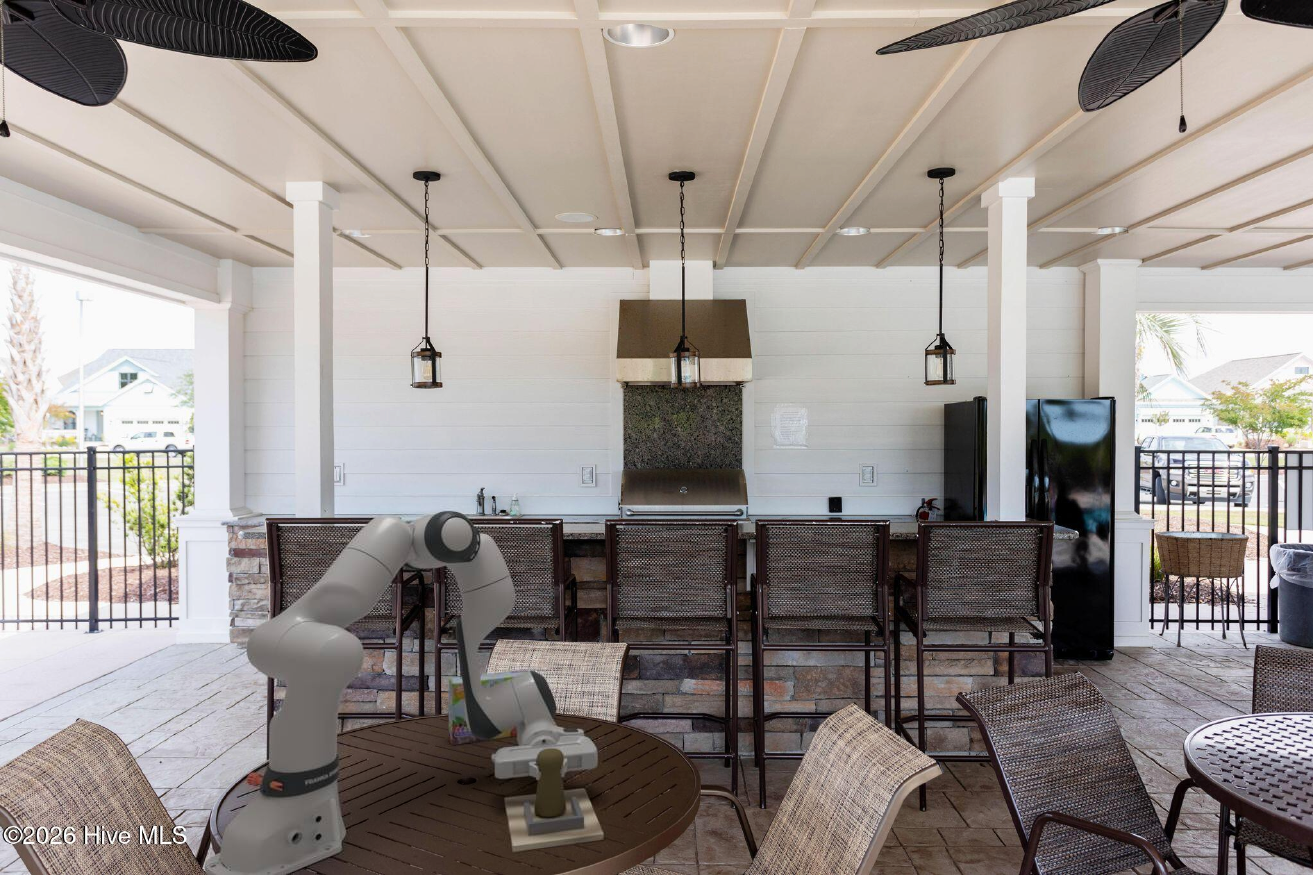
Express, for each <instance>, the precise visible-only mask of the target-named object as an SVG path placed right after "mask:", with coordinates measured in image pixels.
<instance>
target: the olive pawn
mask: <svg viewBox="0 0 1313 875" xmlns="http://www.w3.org/2000/svg"><path fill="white" fill-rule="evenodd" d="M563 763H564V756H563V753H562V752H561V751H560V750H558V749H555V748H548V749H544V750H542V751H540V752H539V754H538V755H537V766H538V768H539V769H540V771H541V777H540V780H537V785H536V786H537V787H536V793H535V794H536V801H535V809H534V811H535V813H536V814H538V815H541V816H555V815H559V814H561V813H563V812H564V811H565V810H566V803H565V795H564V791H565V788H564V782H563V780H564V779H563V777H561V767H562V766H563Z"/></svg>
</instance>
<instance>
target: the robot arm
mask: <svg viewBox="0 0 1313 875" xmlns="http://www.w3.org/2000/svg"><path fill="white" fill-rule="evenodd" d="M403 566H404V567H406V568H408V569H412V570H415V571H425V570H428V569H438V568H442V567H445V566H446V568H448V569H449V570H450V571H451V573H453V576H454V578H456V583H457V585H458V589H459V592H460V595H461V599H462V610H461V611H462V613H461V616H460V617H459V618H458V619H457V620H456V622H455V639H456V646H457V654H458V663H459V668H460V675H461V677H462V682H463V688H464V695H465V719H466V723H467V726H468V729H469V731H470V732H471V733H472V735H473V736H475V737H477V738H480V739H484V741H490V739H491V740H493V739H492V738H494V737H496V736H498V735H500V734H502V733H503V732H504V731H506V730H509V729H511V728H513V727H516V726H517V736H516V739H517V744H518V745H515V746H507V747H506V746H504V747H501V748H499V749H498V750H496V752H495V753H492V754H491V756H490V758H491V762H492V763H494V777H495V778H497V779H500V780H503V779H512V778H521V777H533V778H535V780H536V781H538V780H540V777H541V771H540V769H539V768H538V766H537V755H538V754H539V752H540V751H542V750H544V749H548V748H555V749H558V750H560V751H561V752H562V753H563V756H564V763H563V766H562V767H561V777H562V778H565V774H566V773H567V772H575V771H583V770H585V771H586V770H594V769H595V768H597V767H598V761H599V760H598V759H599V758H598V757H599V756H598V748H597V746H596V745H595V743H594V741H592V740H591V739H590V738H589V737H588V736H585V732H584V730H583V729H582V728H567V727H561V726H558V725H557V723H556V722H555V720H554V719H555V717H556V716H557V715H556V714H557V710H558V709H557V703H556V700H555V698H554V694H553V692H552V690H551V687H550V685H549V683H548V682H547V680H546V678H545V677H544V676H543V675H542V674H541V673H538V672H536V671H535V670H534V671H535V672H534V671H528V672H526V673H523V674H521V675H518V676H516V677H513V678H511V679H509V680H507V681H505V682H502V683H500V684H497V685H495V686H493V687H490V688H483V686H482V683H481V676H480V675H481V671H480V670H481V669H480V666H479V665H480V663H479V657H478V650H479V646H480V645H481V644H482V641H484V639H485V638H486V637H487V636H488V635H490V633H491V632H492V631H493V630H495V629H496V628H497V627H498V626H499V625H500V624H501V623H502V622H503V621H504V620H505V619H506V618H507V617H508V616H509V615H510V613H511V612H512V610H513V608H514V606H515V602H516V592H515V588H514V584H513V580H512V576H511V574H510V571H509V568H508V565H507V564H506V561H505V559H504V557H503V554H502V552H501V551H500V549H499V547H498V545H497V543H496V542H495V540H494V539H493V538H492V536H490V535H488V534H486V533H480V531H478V529H477V528H476V526H475V525H474V523H473V522H472V520H470V519H469V517H467V516H466V515H465V514H464V513H462V512H459V511H455V510H454V511H453V510H443V511H439V512H437V513H433V514H430V515H429V514H428V515H425V516H422V517H420V518H418V519H416V520H413V521H411V522H408V523H407V522H406V521H404V519H402V518H400V517H398V516H396V515H391V514H381V515H377V516H375V517H374V518H373V519H371V520H370V521H369V522H368V523H367V524H366V525H365V526H363V528H361V529H360V530H359V531H358V532H357V534H356V535H355V536H354V537H353V538H352V539H351V540H350V541H349V542H348V543H347V545H346V546H345V547H344V549H343V550H342V551H341V553H340V554H339V555H338V556H337V558H336V559H335V560H334V562H332V564H331V565H330V567H329V568H328V569H327V570H326V572H324V574H323V575H322V576H321V578H320V579H319V580H318V581H317V582H316V583H315V584H314V585H313V586H312V587H311V588H310V589H308V591H306V592H305V594H303V595H302V596H300V597H299V598H298V599H297V600H296V601H295V602H293V603H292V604H291V605H290V606H289V607H287V609H285V610H284V611H282V612H281V613H280V614H278V615H276V616H275V617H272V618H271V619H269V620H266V621H264V622H261V624H259V625H258V626H257V627H256V628H255V629H254V630H253V631H252V633H251V634H250V636H249V638H248V641H247V644H246V656H247V660H248V661H249V663H250V664H251V666H253V667H254V668H255V669H256V670H257V671H259V672H261V673H262V674H263V675H265V676H266V677H268V678H272V679H274V680H280V681H283V682H285V683H284V684H285V687H286V688H285V689H286V690H285V694H284V700H283V703H282V705H281V707H280V709H279V711H277V712H276V713H275V714H274V715H273V717H272V718H271V720H270V723H269V726H268V727H269V739H268V740H269V742H268V746H269V748H268V749H269V750H268V754H269V756H268V758H269V759H268V764H267V765H266V768H265V771H264V773H263V775H262V774H260V773H257V772H251V773H249V774H248V775H247V777H246V784H248V785H249V786H253V787H259V788H258V790H259V791H257V793H256V794H255V795H254V797H252V798H251V800H250V801H249V802H248V803H247V804H246V805H245V806H244V807H243V809H242V810H240V812H239V813H238V814H237V815H236V816H235V817H234V818H233V819H232V820H231V822H229V823H228V824H227V825H226V827H225V830H224V832H223V836H222V840H221V846H220V852H219V853H216V854H215V855H213V856H211V857H210V858H207V859H206V861H205V865H204V871H205V874H206V875H288V874H290V873H292V872H295V871H298V870H300V869H302V868H305V867H308V866H309V865H313V864H314V863H317V862H319V861H323V860H324V859H326V858H329V857H331V856H335V855H337V854H339V853H340V852H341V851H342V850H343V847H342V844H343V843H342V841H343V840H344V839H345V837H346V834H347V830H346V827H345V824H344V820H343V817H342V812H341V806H340V798H339V791H338V790H339V788H338V787H339V786H338V778H339V777H340V756H339V754H338V753H337V752H338V751H337V750H338V746H337V745H338V742H337V741H338V740H337V739H338V717H339V709H340V706H341V702H342V698H343V696H344V693H345V691H346V689H347V687H348V686H349V684H350V683H352V681H354V679H356V677H357V676H358V675H359V673H360V672H361V669H362V666H363V664H364V661H365V660H364V658H365V651H364V646H363V644H362V642H361V640H360V639H359V638H358V637H357V636H356V635H355V634H353V633H351V632H350V631H349V630H346V628H347V627H349V626H350V625H351V624H353V623H355V622H356V621H359V620H360V619H363V618H364V617H366V616H367V615H369V613H370V612H372V610H373V609H374V607H375V606H376V605H377V603H378V602H379V600H380V599H381V597H382V595H383V594H384V593H385V592H386V590H387V588H389V586H390V584H391V583H392V581H393V580H394V578H396V575H397V574H398V572H399V571H400V569H401V568H403ZM511 681H512V682H511ZM219 859H220V860H219ZM221 862H222V863H223V864H224V865H225V866H226V867H227V869H226V867H224V866H223V865H222V863H221ZM230 870H231V871H230Z"/></svg>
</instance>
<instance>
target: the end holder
mask: <svg viewBox="0 0 1313 875" xmlns="http://www.w3.org/2000/svg"><path fill="white" fill-rule="evenodd" d="M571 809H572V812H573V815H574V816H570V817H562V818H554V819H546V820H539V821H533V817H532V812H531V808H530V804H529V802H527V803H524V817H525V821H526V826H527V831H528V836H531V835H538V834H546V833H553V832H561V831H568V830H576V829H583V828H584V816H583V813H582V811H581V808H580V805H579V803H578V800H577V797H571Z"/></svg>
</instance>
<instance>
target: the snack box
mask: <svg viewBox="0 0 1313 875" xmlns="http://www.w3.org/2000/svg"><path fill="white" fill-rule="evenodd" d="M528 671H534V672H536V671H535V670H534V669H533V668H527V669H517V670H509V671H507V670H506V671H499V672H492V673H482V674H481V673H480V676H481V683H482V686H483V688H490V687H493V686H495V685H497V684H500V683H502V682H505V681H507V680H509V679H511V678H513V677H516V676H518V675H521V674H523V673H526V672H528ZM511 682H512V681H511ZM510 736H511V737H515V736H516V737H517V726H516V727H513V728H511V729H509V730H506V731H504V732H503V733H502V734H500V735H498V736H496V737H494V738H492V739H490V740H496V739H503V738H511V737H510ZM448 739H449V741H450V743H451V745H452V746H455V745H462V744H467V743H468V744H469V743H476V742H483V741H485V740H484V739H480V738H477V737H475V736H473V735H472V733H471V732H470V731H469V729H468V726H467V723H466V719H465V695H464V688H463V682H462V676H457V677H449V678H448ZM490 740H489V741H490Z"/></svg>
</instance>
